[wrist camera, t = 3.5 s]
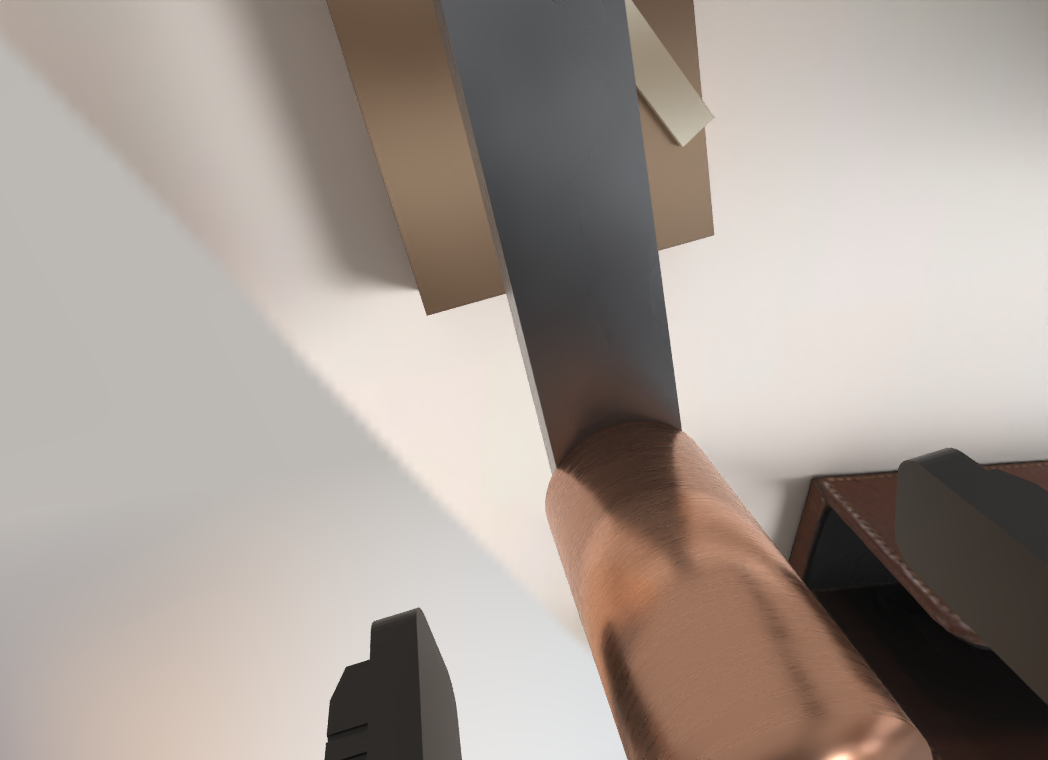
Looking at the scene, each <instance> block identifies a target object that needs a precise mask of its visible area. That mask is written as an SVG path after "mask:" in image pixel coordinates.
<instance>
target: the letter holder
mask: <svg viewBox="0 0 1048 760" xmlns="http://www.w3.org/2000/svg"><path fill="white" fill-rule="evenodd" d="M982 467H984V468H985V469H986V470H988V471H989V470H992V469H999V470H1002V471H1004V472H1007V473H1010V474H1012V475H1015V476H1017V477H1020V478H1023V479H1025V480H1028V481H1031V482H1033V483H1036V484H1037V485H1039V486H1040V487H1042V488H1043V489H1045V490H1046V491H1048V461H1042V462H1032V463H1018V464H998V465H990V466H982ZM897 479H898V472H891V473H879V474H866V475H850V476H837V477H826V478H818V479H813V480H811V484H810V490H809V493H808V497H807V501H806V504H805V508H804V511H803V515H802V518H801V521H800V525H799V528H798V532H797V535H796V539H795V543H794V546H793V550H792V553H791V557H790V560H789V564H790V565H791V567H792V568H793V569H794V570H795V572H796V573H797V574H798V576H799V577H800V578H801V579H802V581H803V582H804V583H805V585H806V586H807V587H808V588H809V590H810V591H811V592H812V594H813V595H814V596H815V598H816V599H817V600H818V601H819V603H820V604H821V605H822V607H823V608H824V609H825V610H826V612H827V613H828V614H829V616H830V617H831V618H832V619H833V621H834V622H835V623H836V625H837V626H838V627H839V629H840V630H841V631H842V632H843V634H844V635H845V636H846V638H847V639H848V640H849V641H850V643H851V644H852V645H853V647H854V648H855V649H856V650H857V652H858V653H859V654H860V656H861V657H862V658H863V660H864V661H865V662H866V663H867V665H868V666H869V667H870V669H871V670H872V671H873V672H874V674H875V675H876V676H877V678H878V679H879V680H880V681H881V683H882V684H883V685H884V687H885V688H886V689H887V691H888V692H889V693H890V694H891V696H892V697H893V698H894V700H895V701H896V702H897V703H898V705H899V706H900V707H901V709H902V710H903V711H904V712H905V714H906V715H907V716H908V718H909V719H910V720H911V722H912V723H913V724H914V725H915V727H916V728H917V729H918V731H919V732H920V733H921V734H922V736H923V737H924V738H925V740H926V741H927V743H928V745H929V747H930V749H931V753H932V758H933V760H1048V705H1047V704H1046V703H1045V702H1044V701H1043V700H1042V699H1041V698H1040V697H1039V696H1038V695H1037V694H1036V693H1035V692H1034V691H1033V690H1032V689H1031V688H1030V687H1029V686H1028V685H1027V684H1026V683H1025V682H1024V681H1023V680H1022V679H1021V678H1020V677H1019V676H1018V675H1017V674H1016V673H1015V672H1014V671H1013V670H1012V669H1011V668H1010V667H1009V666H1008V665H1007V664H1006V663H1005V662H1004V661H1003V660H1002V659H1001V658H1000V657H999V656H998V655H997V654H996V653H995V652H994V651H993V650H992V649H991V648H990V647H989V646H988V645H987V644H986V643H985V642H984V641H983V640H982V639H981V638H980V637H979V636H978V635H977V634H976V633H975V632H974V631H973V630H972V629H971V628H970V627H969V626H968V625H967V624H966V623H965V622H964V621H963V620H962V619H961V618H960V617H959V616H958V615H957V614H956V613H955V612H954V611H953V610H952V609H951V608H950V607H949V606H948V605H947V604H946V603H945V602H944V601H943V600H942V599H941V598H940V597H939V596H938V595H937V594H936V593H935V592H934V591H933V590H932V589H931V588H930V587H929V586H928V585H927V584H926V583H925V582H924V581H923V580H922V579H921V578H920V577H919V576H918V575H917V574H916V573H915V572H914V571H913V570H912V569H911V568H910V567H909V565H908V564H907V563H906V561H905V560H904V558H903V556H902V554H901V552H900V550H899V548H898V545H897V542H896V538H895V515H896V497H897Z"/></svg>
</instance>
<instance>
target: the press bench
mask: <svg viewBox="0 0 1048 760" xmlns="http://www.w3.org/2000/svg"><path fill="white" fill-rule="evenodd" d="M326 1H327V4H328V8H329V11H330V14H331V17H332V20H333V23H334V26H335V29H336V33H337V36H338V39H339V42H340V45H341V48H342V51H343V55H344V58H345V61H346V64H347V67H348V70H349V73H350V76H351V80H352V83H353V86H354V89H355V92H356V95H357V98H358V101H359V105H360V108H361V111H362V114H363V117H364V120H365V123H366V126H367V130H368V133H369V136H370V139H371V142H372V145H373V148H374V152H375V155H376V158H377V161H378V164H379V167H380V170H381V173H382V177H383V180H384V183H385V186H386V189H387V192H388V195H389V198H390V202H391V205H392V208H393V211H394V214H395V217H396V220H397V223H398V227H399V230H400V233H401V236H402V239H403V242H404V245H405V249H406V252H407V255H408V258H409V261H410V264H411V267H412V270H413V274H414V277H415V280H416V283H417V286H418V289H419V292H420V295H421V299H422V302H423V305H424V308H425V311H426V314H427V315H431V314H435V313H438V312H442V311H445V310H449V309H452V308H456V307H460V306H463V305H467V304H470V303H474V302H477V301H481V300H485V299H488V298H492V297H495V296H499V295H502V294H506V290H505V286H504V283H503V279H502V275H501V271H500V267H499V263H498V259H497V255H496V251H495V247H494V243H493V239H492V235H491V231H490V227H489V223H488V219H487V215H486V211H485V208H484V204H483V200H482V196H481V192H480V188H479V184H478V180H477V176H476V172H475V168H474V164H473V160H472V156H471V152H470V148H469V144H468V140H467V136H466V133H465V129H464V125H463V121H462V117H461V113H460V109H459V105H458V101H457V97H456V93H455V89H454V85H453V81H452V77H451V73H450V69H449V65H448V61H447V57H446V54H445V50H444V46H443V42H442V38H441V34H440V30H439V26H438V22H437V18H436V14H435V10H434V6H433V2H432V0H326ZM625 6H626V14H627V21H628V29H629V36H630V44H631V51H632V59H633V67H634V74H635V82H636V89H637V97H638V104H639V112H640V119H641V127H642V134H643V142H644V150H645V157H646V165H647V172H648V180H649V187H650V195H651V202H652V210H653V217H654V225H655V233H656V240H657V248H658V251H659V250H663V249H666V248H670V247H674V246H677V245H681V244H684V243H688V242H691V241H695V240H698V239H702V238H706V237H709V236H713V235H714V227H713V216H712V205H711V194H710V182H709V171H708V160H707V149H706V138H705V126H706V125H707V124H708V123H709V122H710V121H711V120H712V119H713V118H714V116H713V115H712V113H711V112H710V111H709V109H708V108H707V106H706V105H705V104H704V102H703V101H702V93H701V82H700V71H699V60H698V48H697V37H696V26H695V15H694V4H693V0H625Z"/></svg>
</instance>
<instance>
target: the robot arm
mask: <svg viewBox="0 0 1048 760" xmlns="http://www.w3.org/2000/svg"><path fill="white" fill-rule="evenodd" d="M895 538H896V542H897V545H898V548H899V550H900V552H901V554H902V556H903V558H904V560H905V561H906V563H907V564H908V565H909V567H910V568H911V569H912V570H913V571H914V572H915V573H916V574H917V575H918V576H919V577H920V578H921V579H922V580H923V581H924V582H925V583H926V584H927V585H928V586H929V587H930V588H931V589H932V590H933V591H934V592H935V593H936V594H937V595H938V596H939V597H940V598H941V599H942V600H943V601H944V602H945V603H946V604H947V605H948V606H949V607H950V608H951V609H952V610H953V611H954V612H955V613H956V614H957V615H958V616H959V617H960V618H961V619H962V620H963V621H964V622H965V623H966V624H967V625H968V626H969V627H970V628H971V629H972V630H973V631H974V632H975V633H976V634H977V635H978V636H979V637H980V638H981V639H982V640H983V641H984V642H985V643H986V644H987V645H988V646H989V647H990V648H991V649H992V650H993V651H994V652H995V653H996V654H997V655H998V656H999V657H1000V658H1001V659H1002V660H1003V661H1004V662H1005V663H1006V664H1007V665H1008V666H1009V667H1010V668H1011V669H1012V670H1013V671H1014V672H1015V673H1016V674H1017V675H1018V676H1019V677H1020V678H1021V679H1022V680H1023V681H1024V682H1025V683H1026V684H1027V685H1028V686H1029V687H1030V688H1031V689H1032V690H1033V691H1034V692H1035V693H1036V694H1037V695H1038V696H1039V697H1040V698H1041V699H1042V700H1043V701H1044V702H1045V703H1046V704H1047V705H1048V491H1046V490H1045V489H1043V488H1042V487H1040V486H1039V485H1037V484H1036V483H1033V482H1031V481H1028V480H1025V479H1023V478H1020V477H1017V476H1015V475H1012V474H1010V473H1007V472H1004V471H1002V470H999V469H992V470H989V471H988V470H986V469H985V468H984V467H982V466H981V465H979V464H978V463H976V462H975V461H974V460H972V459H971V458H969V457H968V456H967V455H965V454H964V453H962V452H961V451H959V450H956V449H953V448H946V449H942V450H939V451H936V452H933V453H929V454H926V455H923V456H919V457H916V458H913V459H910V460H906V461H904V462H902V463H901V465H900V466H899V469H898V479H897V497H896V515H895ZM370 643H371V644H370V660H367V661H364V662H361V663H358V664H354V665H351V666H348V667H346V668H345V670H344V673H343V675H342V677H341V679H340V681H339V683H338V685H337V687H336V690H335V692H334V694H333V696H332V698H331V700H330V706H329V717H328V728H327V737H328V742H327V743H326V751H325V760H462V756H461V747H460V737H459V727H458V717H457V709H456V702H455V697H454V692H453V688H452V683H451V680H450V676H449V674H448V670H447V668H446V665H445V663H444V661H443V658H442V656H441V654H440V651H439V649H438V647H437V644H436V642H435V639H434V637H433V635H432V632H431V630H430V627H429V625H428V623H427V620H426V618H425V616H424V613H423V612H422V610H421V609H420V608H416V609H413V610H409V611H406V612H403V613H400V614H396V615H393V616H390V617H386V618H383V619H380V620H377V621H374V622H373V623H372V627H371V642H370Z"/></svg>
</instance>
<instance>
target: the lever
mask: <svg viewBox="0 0 1048 760" xmlns="http://www.w3.org/2000/svg"><path fill="white" fill-rule="evenodd" d="M432 2H433V6H434V10H435V14H436V18H437V22H438V26H439V30H440V34H441V38H442V42H443V46H444V50H445V54H446V57H447V61H448V65H449V69H450V73H451V77H452V81H453V85H454V89H455V93H456V97H457V101H458V105H459V109H460V113H461V117H462V121H463V125H464V129H465V133H466V136H467V140H468V144H469V148H470V152H471V156H472V160H473V164H474V168H475V172H476V176H477V180H478V184H479V188H480V192H481V196H482V200H483V204H484V208H485V211H486V215H487V219H488V223H489V227H490V231H491V235H492V239H493V243H494V247H495V251H496V255H497V259H498V263H499V267H500V271H501V275H502V279H503V283H504V286H505V290H506V294H507V298H508V302H509V306H510V310H511V314H512V318H513V322H514V326H515V330H516V334H517V338H518V342H519V346H520V350H521V354H522V358H523V362H524V365H525V369H526V373H527V377H528V381H529V385H530V389H531V393H532V397H533V401H534V405H535V409H536V413H537V417H538V421H539V425H540V429H541V433H542V437H543V440H544V444H545V448H546V452H547V456H548V460H549V464H550V468H551V472H552V478H551V480H550V482H549V486H548V489H547V493H546V501H545V504H546V515H547V520H548V523H549V526H550V529H551V532H552V535H553V538H554V541H555V544H556V547H557V550H558V553H559V556H560V559H561V562H562V565H563V568H564V571H565V574H566V577H567V580H568V583H569V586H570V589H571V592H572V595H573V598H574V601H575V604H576V607H577V610H578V613H579V616H580V619H581V622H582V625H583V627H584V630H585V633H586V636H587V639H588V642H589V645H590V648H591V651H592V654H593V657H594V660H595V663H596V666H597V669H598V672H599V675H600V678H601V681H602V684H603V687H604V690H605V693H606V696H607V699H608V702H609V705H610V708H611V711H612V714H613V717H614V720H615V723H616V726H617V729H618V732H619V735H620V738H621V741H622V744H623V747H624V750H625V753H626V756H627V759H628V760H933V758H932V753H931V749H930V747H929V745H928V743H927V741H926V740H925V738H924V737H923V736H922V734H921V733H920V732H919V731H918V729H917V728H916V727H915V725H914V724H913V723H912V722H911V720H910V719H909V718H908V716H907V715H906V714H905V712H904V711H903V710H902V709H901V707H900V706H899V705H898V703H897V702H896V701H895V700H894V698H893V697H892V696H891V694H890V693H889V692H888V691H887V689H886V688H885V687H884V685H883V684H882V683H881V681H880V680H879V679H878V678H877V676H876V675H875V674H874V672H873V671H872V670H871V669H870V667H869V666H868V665H867V663H866V662H865V661H864V660H863V658H862V657H861V656H860V654H859V653H858V652H857V650H856V649H855V648H854V647H853V645H852V644H851V643H850V641H849V640H848V639H847V638H846V636H845V635H844V634H843V632H842V631H841V630H840V629H839V627H838V626H837V625H836V623H835V622H834V621H833V619H832V618H831V617H830V616H829V614H828V613H827V612H826V610H825V609H824V608H823V607H822V605H821V604H820V603H819V601H818V600H817V599H816V598H815V596H814V595H813V594H812V592H811V591H810V590H809V588H808V587H807V586H806V585H805V583H804V582H803V581H802V579H801V578H800V577H799V576H798V574H797V573H796V572H795V570H794V569H793V568H792V567H791V565H790V564H789V563H788V561H787V560H786V559H785V557H784V556H783V555H782V554H781V552H780V551H779V550H778V548H777V547H776V546H775V545H774V543H773V542H772V541H771V539H770V538H769V537H768V536H767V534H766V533H765V532H764V530H763V529H762V528H761V526H760V525H759V524H758V523H757V521H756V520H755V519H754V517H753V516H752V515H751V514H750V512H749V511H748V510H747V508H746V507H745V506H744V505H743V503H742V502H741V501H740V499H739V498H738V497H737V495H736V494H735V493H734V492H733V490H732V489H731V488H730V486H729V485H728V484H727V483H726V481H725V480H724V479H723V477H722V476H721V475H720V474H719V472H718V471H717V470H716V468H715V467H714V466H713V464H712V463H711V462H710V461H709V459H708V458H707V457H706V455H705V454H704V453H703V452H702V450H701V449H700V448H699V446H698V445H697V444H696V443H695V442H694V440H693V439H691V438H690V437H689V436H688V435H687V434H686V433H684V432H682V429H681V421H680V414H679V406H678V399H677V391H676V384H675V376H674V368H673V361H672V353H671V346H670V338H669V331H668V323H667V316H666V308H665V301H664V293H663V285H662V278H661V270H660V263H659V255H658V248H657V240H656V233H655V225H654V217H653V210H652V202H651V195H650V187H649V180H648V172H647V165H646V157H645V150H644V142H643V134H642V127H641V119H640V112H639V104H638V97H637V89H636V82H635V74H634V67H633V59H632V51H631V44H630V36H629V29H628V21H627V14H626V6H625V0H432Z"/></svg>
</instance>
